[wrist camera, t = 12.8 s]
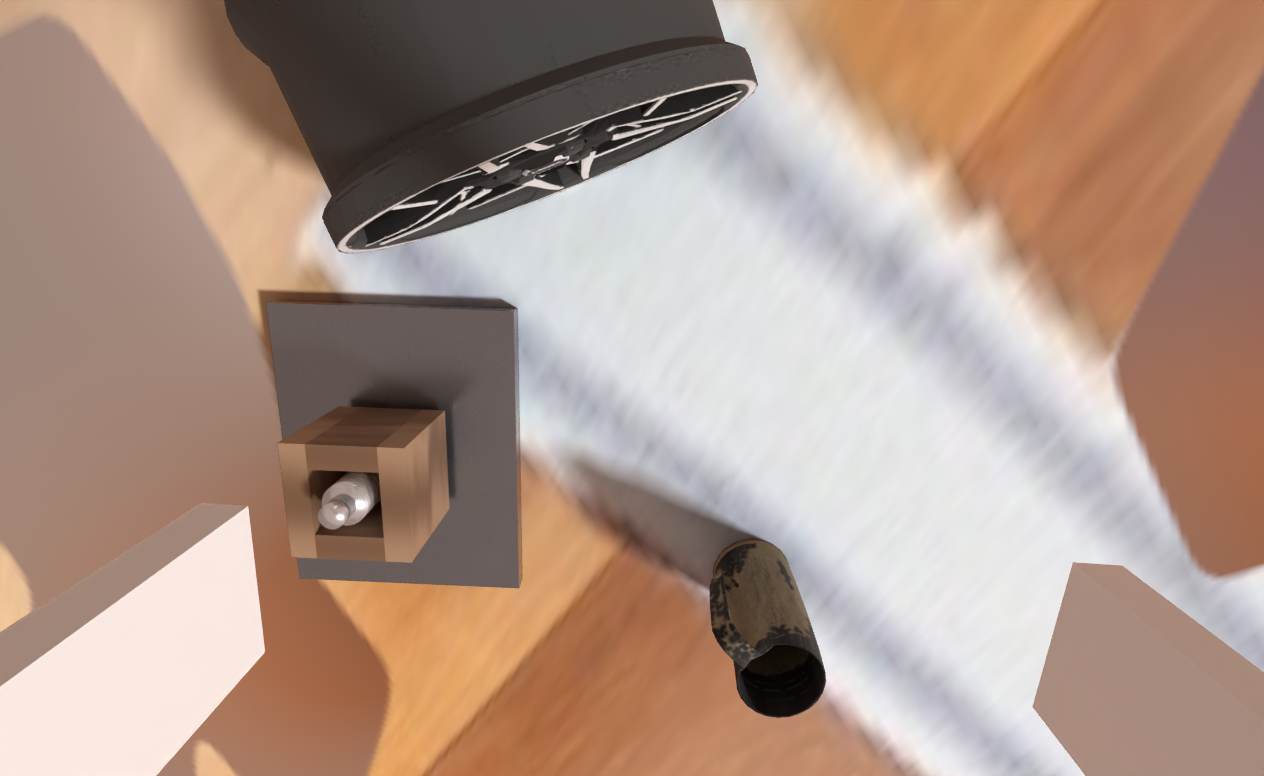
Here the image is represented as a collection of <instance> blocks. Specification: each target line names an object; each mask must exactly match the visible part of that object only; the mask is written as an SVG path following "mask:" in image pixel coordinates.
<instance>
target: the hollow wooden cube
mask: <svg viewBox="0 0 1264 776" xmlns="http://www.w3.org/2000/svg"><path fill="white" fill-rule="evenodd" d="M278 452H279V460H280V468H281V476H282V484H283V492H284V500H285V509H286V516H287V525H288V533H289V541H290V549H291V557H297V558H318V559H340V560H362V561H384V562H406V563H412V561H413V560H414V559H415V557H416V556H417V554H418V553H419V551H420V550H421V549H422V547H423V546H424V544H425V543H426V541H427V540H428V539H429V537H430V536H431V534H432V533H433V531H434V530H435V529H436V527H437V526H438V524H439V523H440V521H441V520H442V519H443V517H444V516H445V514H446V513H447V511H448V510H449V509H450V508H449V487H448V466H447V445H446V425H445V411H444V410H419V409H395V408H370V407H345V406H338V407H337V408H335V409H333V410H332V411H330V412H328V413H327V414H325V415H323V416H322V417H320V418H318V419H317V420H315V421H313V422H312V423H310V424H308V425H307V426H305V427H303V428H302V429H300V430H298V431H297V432H295V433H293V434H292V435H290V436H288V437H287V438H285V439H283V440H282V441H280V442H278ZM349 471H350V472H373V473H379V482H380V495H381V500H380V501H379V502H378V503H377V504H376V505H375V506H374V507H373V508H372V509H371V511H370V512H369V513H368V514H367V515H366V516H365V517H364V518H363V519H362V520H361V521H360V522H358V523H356V524H354V525H349V526H346V525H342V526H341V527H339V528H337V529H328V528H325V527H324V526H323V525H322V524H321V523H320V522H319V520H318V512H319V510H320V509H321V508H322V498H323V495H324V493H325V492H326V490H327V489H329V488H330V487H331V486H332V485H333V484H335V483H336V482H337V481H338V480H339V479H341V478H342V477H343V476H344V475H345V474H347V473H348V472H349Z"/></svg>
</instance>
